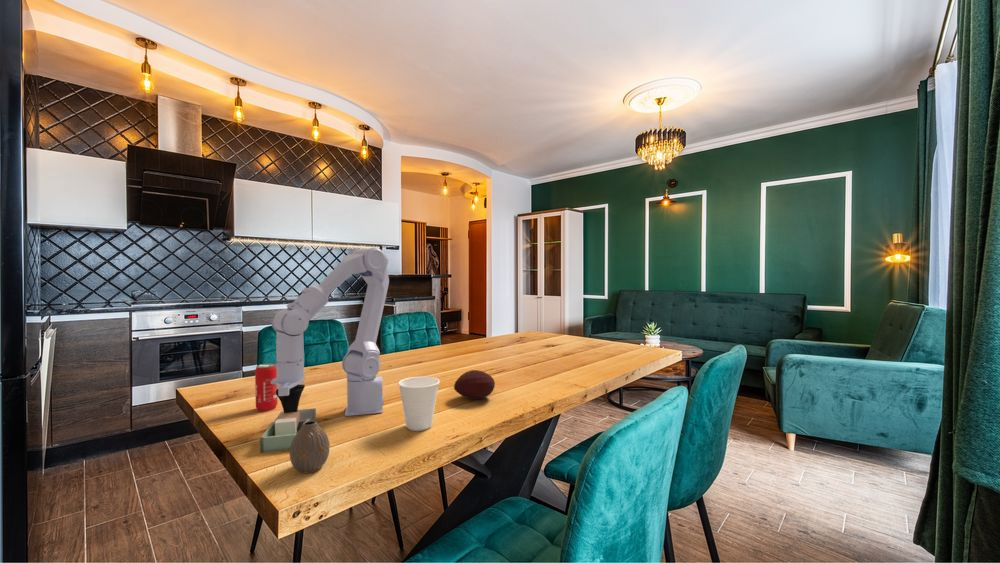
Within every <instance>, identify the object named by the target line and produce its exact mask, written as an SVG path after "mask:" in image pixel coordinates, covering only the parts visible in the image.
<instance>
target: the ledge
mask: <svg viewBox="0 0 1000 563" xmlns="http://www.w3.org/2000/svg"><path fill="white" fill-rule="evenodd" d="M297 412H300V421H299V424H298V427H297V431H299V430H300V429H301V427H302V424H303V423H304V422H306V420H307V419H310V421H316V418H317V408H316V407H315V408H314V407H313V408H305V409H298V410H297ZM281 413H284V411H282V410H281V411H280V413H278V415H277V417H276V418H275V419H274V421H273V422H276V420H277V419H279V417H280V415H281Z"/></svg>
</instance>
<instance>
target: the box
mask: <svg viewBox="0 0 1000 563" xmlns="http://www.w3.org/2000/svg"><path fill="white" fill-rule="evenodd" d="M307 421H310V419H307V420H306V422H307ZM297 433H298V431H297ZM295 435H296V434H289V435H279V436H275V422H274V421H271V423H270V424H269V426H268V427H267V428H266V429H265V431H264V432H263V434H262V435H261V436H260V438H259V448H260V449H259V452H260V454H262V453H269V452H271V453H272V452H280V451H288V450H289V451H290V446H291V443H292V440H293V438H294V437H295Z"/></svg>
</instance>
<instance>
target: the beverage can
mask: <svg viewBox="0 0 1000 563" xmlns="http://www.w3.org/2000/svg"><path fill="white" fill-rule="evenodd" d="M254 372H255V374H254V375H255V376H254V380H255V381H254V383H255V384H254V385H255V388H254V389H255V408H256V410H257V411H258V412H270V411H273V410H276V408H277V405H278V404H279V403H278V400H279V399H278V396H277V395H276V390H277V389H278V386H277V385H276V384H271V381H272V380H273V379H277V363H263V364H259V365H256V367H255V369H254Z"/></svg>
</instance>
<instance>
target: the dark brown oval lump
mask: <svg viewBox="0 0 1000 563" xmlns="http://www.w3.org/2000/svg"><path fill="white" fill-rule="evenodd" d="M495 385H496V383H495V379H494V378H493V377H492V376H491V374H489V373H487V372H485V371H482V370H476V369H474V370H473V369H471V370H469V371H466V372H465V371H464V373H463V374H461V375H460V376H459V377H458V378H457V379H456V381H455V382H454V385H453V389H454V390H455V392H456V393H457V394H459V395H460V396H462V397H463V398H467V399H469V400H480V399H483V398H486V397H488V396H490V395H491V394H492V393H493V391H494V390H495Z"/></svg>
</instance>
